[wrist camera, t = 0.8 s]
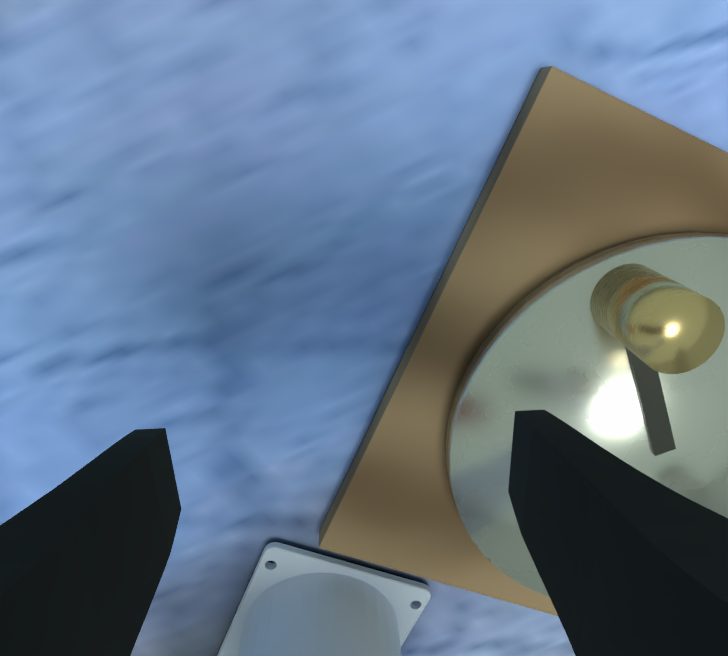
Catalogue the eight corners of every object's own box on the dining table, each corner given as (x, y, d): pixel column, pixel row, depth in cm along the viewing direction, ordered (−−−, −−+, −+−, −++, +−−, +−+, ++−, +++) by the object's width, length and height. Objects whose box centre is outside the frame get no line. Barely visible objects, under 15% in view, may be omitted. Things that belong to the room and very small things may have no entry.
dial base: (689, 638, 28) (720, 684, 26) (319, 531, 24) (317, 573, 22) (987, 288, 21) (1064, 309, 19) (540, 68, 18) (569, 63, 15)
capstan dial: (867, 514, 24) (972, 595, 20) (512, 631, 25) (544, 727, 21) (841, 155, 18) (982, 168, 14) (384, 337, 19) (395, 394, 16)
